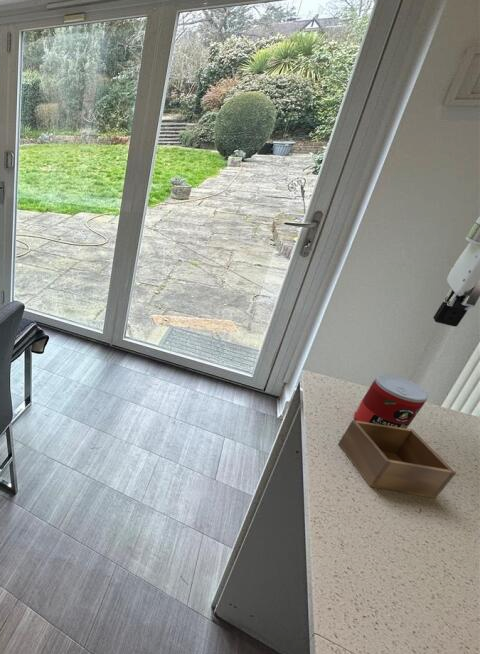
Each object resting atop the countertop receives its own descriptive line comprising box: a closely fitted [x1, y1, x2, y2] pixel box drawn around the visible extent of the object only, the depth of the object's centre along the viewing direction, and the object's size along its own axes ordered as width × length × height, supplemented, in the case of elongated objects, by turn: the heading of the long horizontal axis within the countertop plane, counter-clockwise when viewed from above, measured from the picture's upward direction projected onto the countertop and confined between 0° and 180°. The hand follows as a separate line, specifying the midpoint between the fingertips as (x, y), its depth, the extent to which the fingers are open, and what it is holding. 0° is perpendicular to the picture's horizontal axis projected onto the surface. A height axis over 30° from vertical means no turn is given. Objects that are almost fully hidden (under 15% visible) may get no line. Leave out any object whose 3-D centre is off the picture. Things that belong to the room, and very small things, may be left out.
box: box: [338, 419, 457, 499], centre depth 75 cm, size 10×10×6 cm
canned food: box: [353, 373, 429, 429], centre depth 84 cm, size 8×8×11 cm
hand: (444, 322), depth 83 cm, fingers closed
